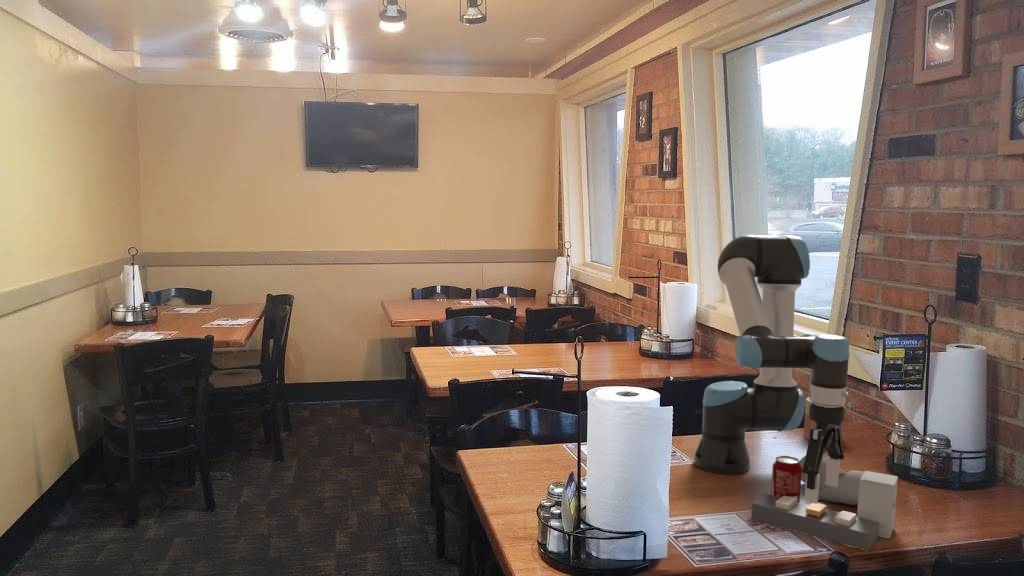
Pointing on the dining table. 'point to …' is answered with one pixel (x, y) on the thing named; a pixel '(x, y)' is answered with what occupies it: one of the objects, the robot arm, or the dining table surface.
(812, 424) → the canned food
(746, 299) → the robot arm
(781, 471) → the soda can
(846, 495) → the l-shaped cylinder
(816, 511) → the paddle mid
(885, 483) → the supplement box
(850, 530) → the button panel
